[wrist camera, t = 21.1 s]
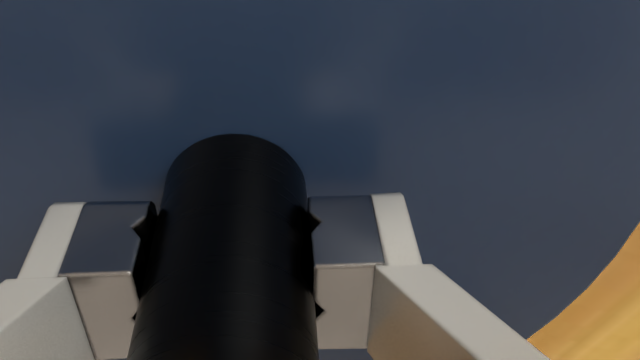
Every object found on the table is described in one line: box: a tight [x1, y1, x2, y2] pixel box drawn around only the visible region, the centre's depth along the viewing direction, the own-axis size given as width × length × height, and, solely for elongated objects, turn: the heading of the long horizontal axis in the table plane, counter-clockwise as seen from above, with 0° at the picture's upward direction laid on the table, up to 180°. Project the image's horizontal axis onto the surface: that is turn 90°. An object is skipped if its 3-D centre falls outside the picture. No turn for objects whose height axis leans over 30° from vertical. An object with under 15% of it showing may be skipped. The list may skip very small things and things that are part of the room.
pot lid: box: [0, 0, 640, 360], centre depth 9 cm, size 15×15×6 cm
